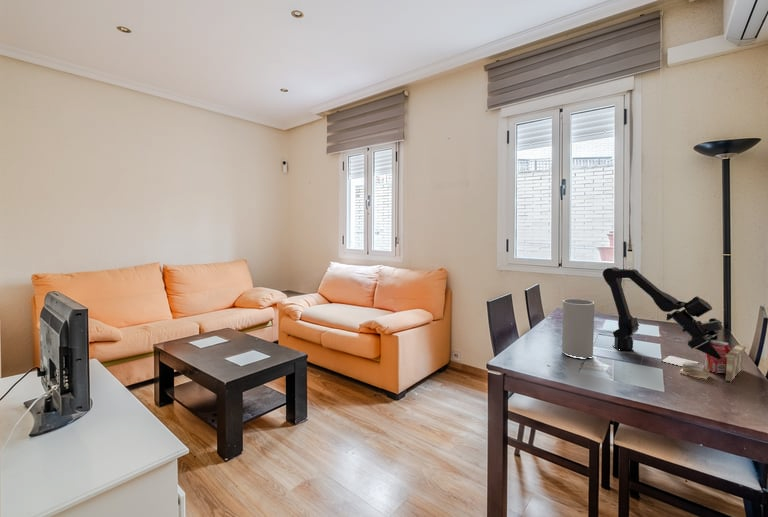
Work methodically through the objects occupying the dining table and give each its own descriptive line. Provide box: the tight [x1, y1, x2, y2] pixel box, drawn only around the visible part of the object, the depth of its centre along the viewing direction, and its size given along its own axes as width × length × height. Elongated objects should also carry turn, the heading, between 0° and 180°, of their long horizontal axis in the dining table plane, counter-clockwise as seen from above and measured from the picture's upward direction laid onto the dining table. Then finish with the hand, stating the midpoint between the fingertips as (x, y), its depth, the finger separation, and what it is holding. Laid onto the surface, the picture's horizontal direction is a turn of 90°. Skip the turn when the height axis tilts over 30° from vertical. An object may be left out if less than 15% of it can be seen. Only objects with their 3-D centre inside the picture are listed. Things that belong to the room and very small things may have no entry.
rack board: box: [725, 344, 747, 382], centre depth 136 cm, size 18×2×10 cm, turn 125°
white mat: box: [661, 355, 700, 367], centre depth 150 cm, size 10×10×1 cm
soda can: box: [704, 339, 731, 374], centre depth 140 cm, size 7×7×12 cm
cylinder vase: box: [561, 298, 595, 358], centre depth 160 cm, size 12×12×25 cm
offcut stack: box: [679, 361, 711, 380], centre depth 137 cm, size 8×5×4 cm, turn 37°
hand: (722, 356), depth 138 cm, fingers closed on soda can, 7 cm apart
